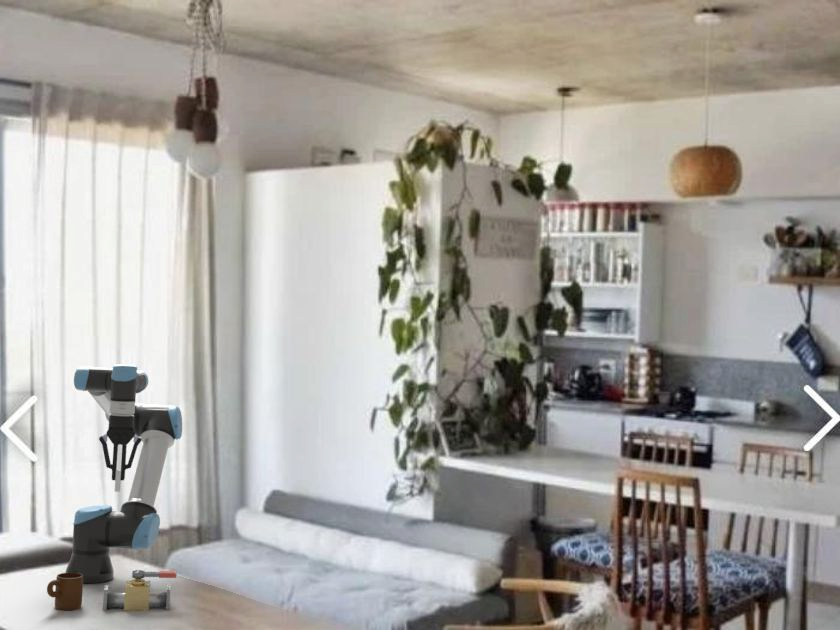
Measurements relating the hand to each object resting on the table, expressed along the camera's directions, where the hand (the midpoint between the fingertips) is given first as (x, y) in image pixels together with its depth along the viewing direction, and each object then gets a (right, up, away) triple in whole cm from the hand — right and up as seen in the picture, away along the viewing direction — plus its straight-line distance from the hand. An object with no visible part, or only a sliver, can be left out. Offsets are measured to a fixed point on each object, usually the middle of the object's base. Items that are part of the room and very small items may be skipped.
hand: (117, 490), depth 321 cm
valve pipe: (+9, -33, -11) cm, 36 cm away
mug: (-11, -32, -17) cm, 38 cm away
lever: (+14, -24, -10) cm, 30 cm away
